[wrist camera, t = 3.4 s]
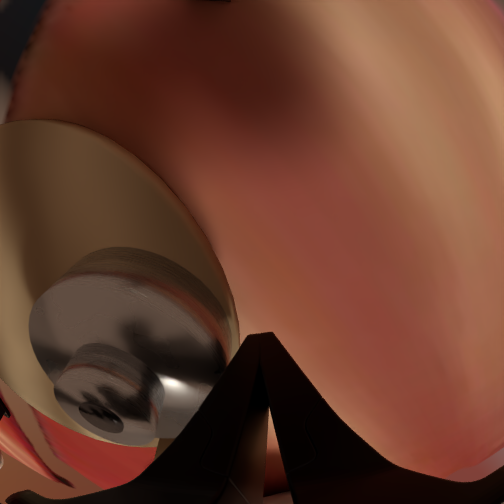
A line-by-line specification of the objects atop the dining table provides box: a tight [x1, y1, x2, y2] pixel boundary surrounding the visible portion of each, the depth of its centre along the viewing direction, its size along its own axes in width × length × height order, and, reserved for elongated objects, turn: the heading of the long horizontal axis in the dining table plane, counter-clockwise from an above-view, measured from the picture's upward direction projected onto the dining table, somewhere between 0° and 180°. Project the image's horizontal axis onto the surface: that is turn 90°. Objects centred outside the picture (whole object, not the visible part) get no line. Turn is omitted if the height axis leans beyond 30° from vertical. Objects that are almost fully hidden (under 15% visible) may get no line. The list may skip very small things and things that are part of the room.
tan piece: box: [0, 119, 240, 460], centre depth 9 cm, size 21×19×5 cm
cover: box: [29, 247, 232, 446], centre depth 8 cm, size 7×7×4 cm
